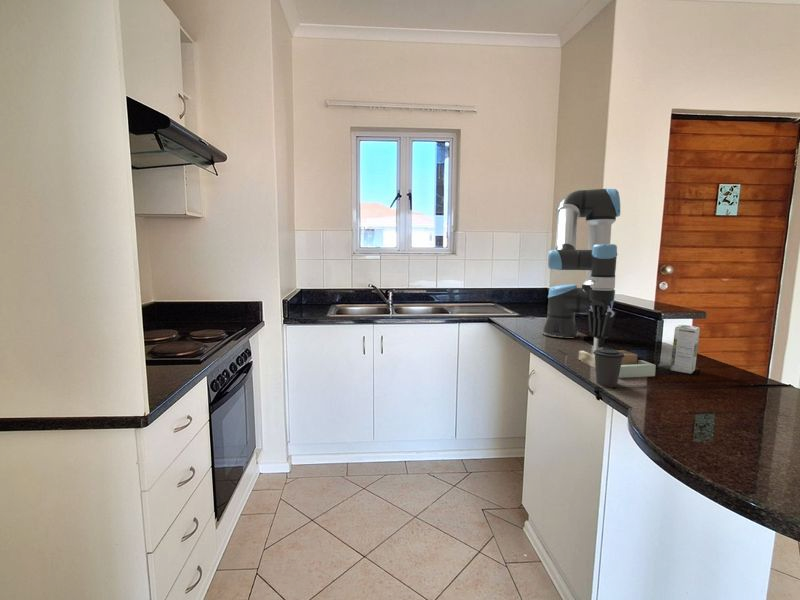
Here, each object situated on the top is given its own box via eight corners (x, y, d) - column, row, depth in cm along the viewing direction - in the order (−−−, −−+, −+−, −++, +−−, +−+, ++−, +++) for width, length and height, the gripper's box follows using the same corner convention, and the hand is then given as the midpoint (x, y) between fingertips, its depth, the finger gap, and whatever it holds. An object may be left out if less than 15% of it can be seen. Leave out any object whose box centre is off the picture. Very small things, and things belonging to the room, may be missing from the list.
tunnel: (578, 360, 140) (578, 350, 140) (611, 359, 142) (612, 349, 142) (596, 368, 130) (597, 358, 130) (632, 367, 132) (632, 356, 132)
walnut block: (606, 368, 131) (607, 350, 130) (622, 367, 132) (623, 350, 131) (618, 374, 125) (620, 355, 124) (635, 373, 126) (637, 354, 125)
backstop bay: (604, 372, 126) (605, 361, 126) (641, 370, 128) (642, 360, 128) (616, 377, 121) (617, 366, 120) (654, 376, 123) (655, 365, 122)
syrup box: (674, 366, 132) (678, 324, 131) (696, 370, 128) (700, 326, 126) (670, 370, 128) (674, 326, 127) (692, 374, 124) (696, 329, 122)
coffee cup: (629, 387, 112) (631, 353, 111) (603, 389, 111) (605, 354, 110) (609, 378, 120) (611, 346, 119) (585, 379, 119) (587, 347, 118)
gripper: (580, 287, 143) (577, 351, 146) (604, 291, 130) (600, 361, 133) (599, 287, 144) (595, 350, 147) (625, 290, 131) (620, 360, 134)
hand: (597, 355), depth 140 cm, fingers closed
